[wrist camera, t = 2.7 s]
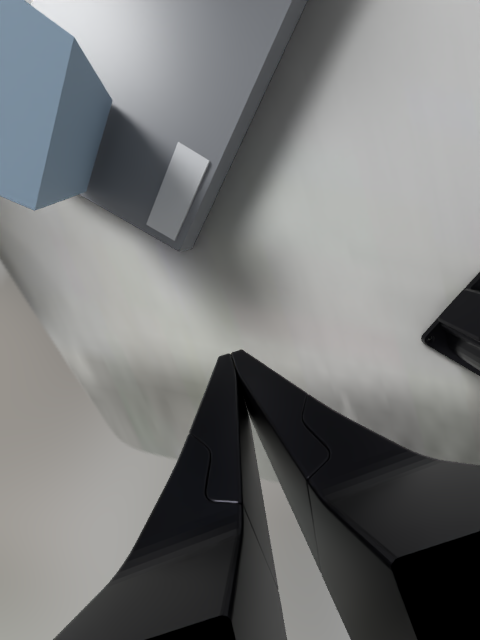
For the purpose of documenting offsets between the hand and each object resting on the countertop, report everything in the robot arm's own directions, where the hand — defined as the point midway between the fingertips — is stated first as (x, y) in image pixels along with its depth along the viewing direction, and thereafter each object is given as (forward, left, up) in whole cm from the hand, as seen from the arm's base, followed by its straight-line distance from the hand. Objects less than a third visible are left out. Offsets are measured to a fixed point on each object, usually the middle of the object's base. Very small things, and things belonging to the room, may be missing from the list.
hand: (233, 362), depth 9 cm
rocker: (+13, -4, -8) cm, 15 cm away
